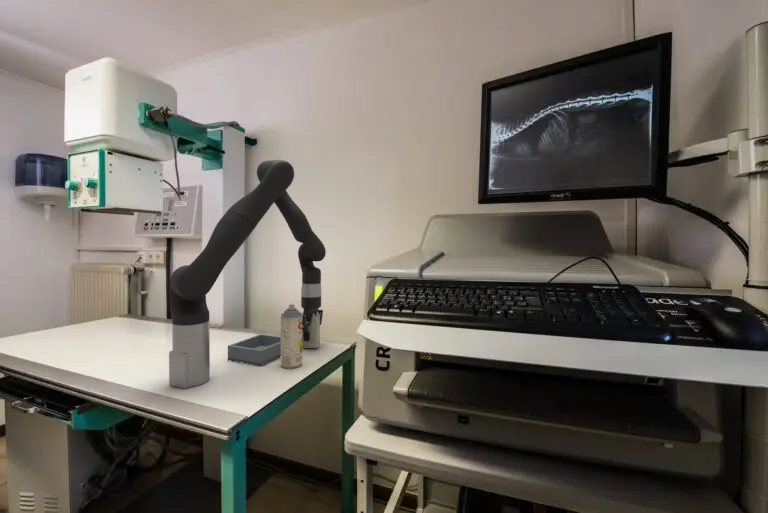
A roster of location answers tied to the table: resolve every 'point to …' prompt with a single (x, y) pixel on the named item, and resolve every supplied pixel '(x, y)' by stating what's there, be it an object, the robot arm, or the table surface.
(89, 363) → the table surface
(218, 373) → the table surface
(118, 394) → the table surface
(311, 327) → the skincare box
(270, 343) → the tote
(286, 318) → the aerosol can
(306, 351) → the table surface
